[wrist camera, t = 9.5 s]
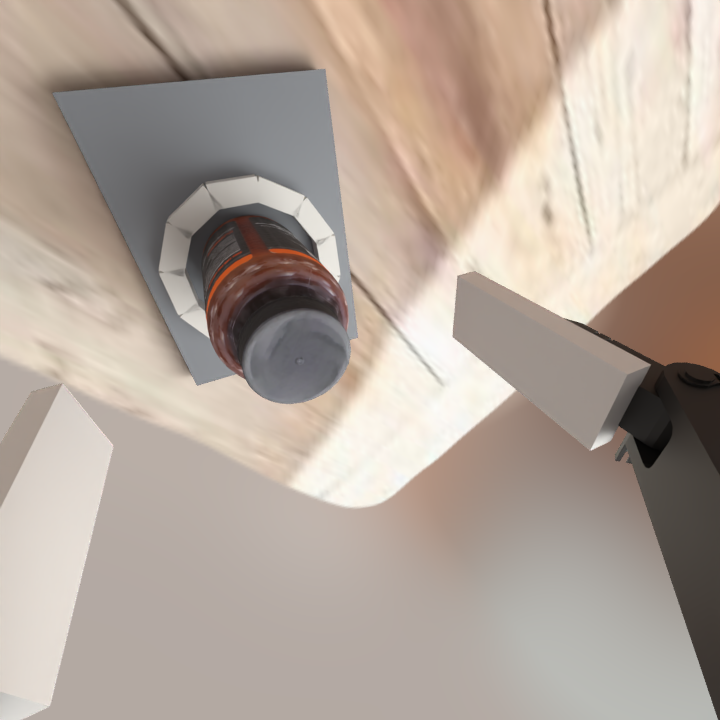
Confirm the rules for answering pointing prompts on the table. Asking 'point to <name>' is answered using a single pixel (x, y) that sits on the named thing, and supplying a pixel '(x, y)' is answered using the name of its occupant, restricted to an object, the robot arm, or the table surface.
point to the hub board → (212, 180)
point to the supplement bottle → (274, 310)
